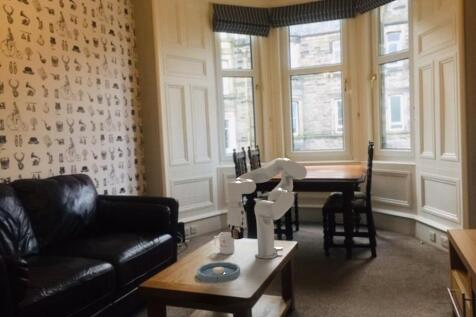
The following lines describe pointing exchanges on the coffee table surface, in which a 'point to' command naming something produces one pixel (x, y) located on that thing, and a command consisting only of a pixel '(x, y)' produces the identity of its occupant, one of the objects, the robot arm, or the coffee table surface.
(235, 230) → the walnut bead
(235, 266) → the ring tray
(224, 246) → the mug
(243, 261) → the coffee table surface
